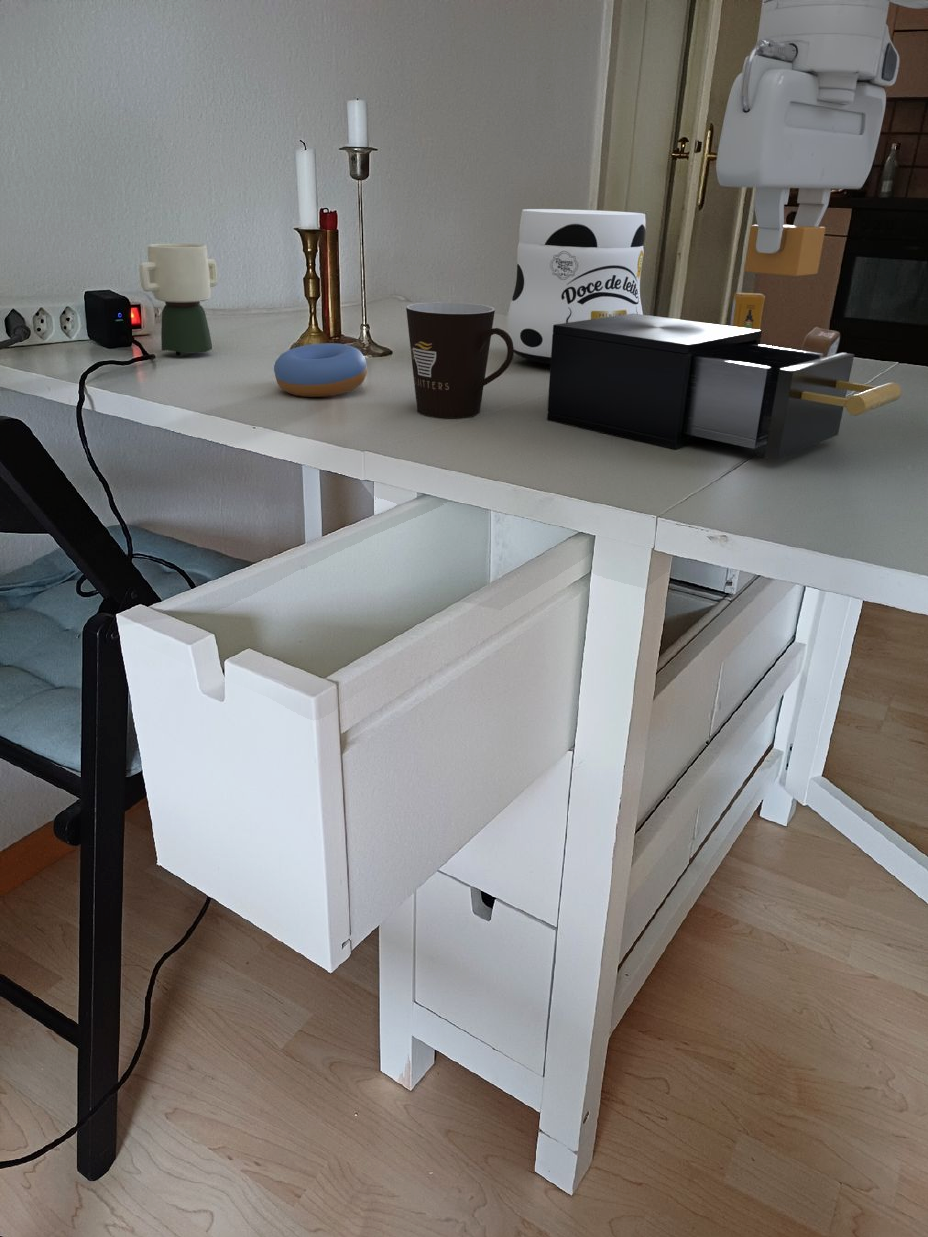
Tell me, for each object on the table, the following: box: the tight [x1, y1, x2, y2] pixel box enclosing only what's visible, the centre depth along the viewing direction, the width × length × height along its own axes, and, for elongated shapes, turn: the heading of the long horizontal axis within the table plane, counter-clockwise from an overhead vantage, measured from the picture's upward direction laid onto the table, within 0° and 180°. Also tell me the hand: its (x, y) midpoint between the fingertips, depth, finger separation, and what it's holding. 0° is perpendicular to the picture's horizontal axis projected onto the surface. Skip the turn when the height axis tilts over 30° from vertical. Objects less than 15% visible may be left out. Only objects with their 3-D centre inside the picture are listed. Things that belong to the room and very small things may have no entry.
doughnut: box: [273, 342, 368, 398], centre depth 100 cm, size 10×10×5 cm
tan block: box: [743, 224, 826, 277], centre depth 75 cm, size 4×4×4 cm
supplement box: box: [729, 292, 766, 330], centre depth 111 cm, size 3×3×10 cm
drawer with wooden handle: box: [682, 342, 903, 461], centre depth 82 cm, size 19×12×7 cm, turn 47°
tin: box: [799, 326, 841, 357], centre depth 95 cm, size 15×3×8 cm, turn 154°
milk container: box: [506, 208, 646, 366], centre depth 117 cm, size 17×17×18 cm
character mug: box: [138, 242, 219, 357], centre depth 116 cm, size 11×7×13 cm, turn 140°
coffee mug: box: [405, 301, 515, 419], centre depth 91 cm, size 12×9×10 cm
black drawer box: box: [546, 313, 763, 450], centre depth 90 cm, size 15×14×9 cm
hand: (784, 251), depth 75 cm, fingers closed on tan block, 4 cm apart
